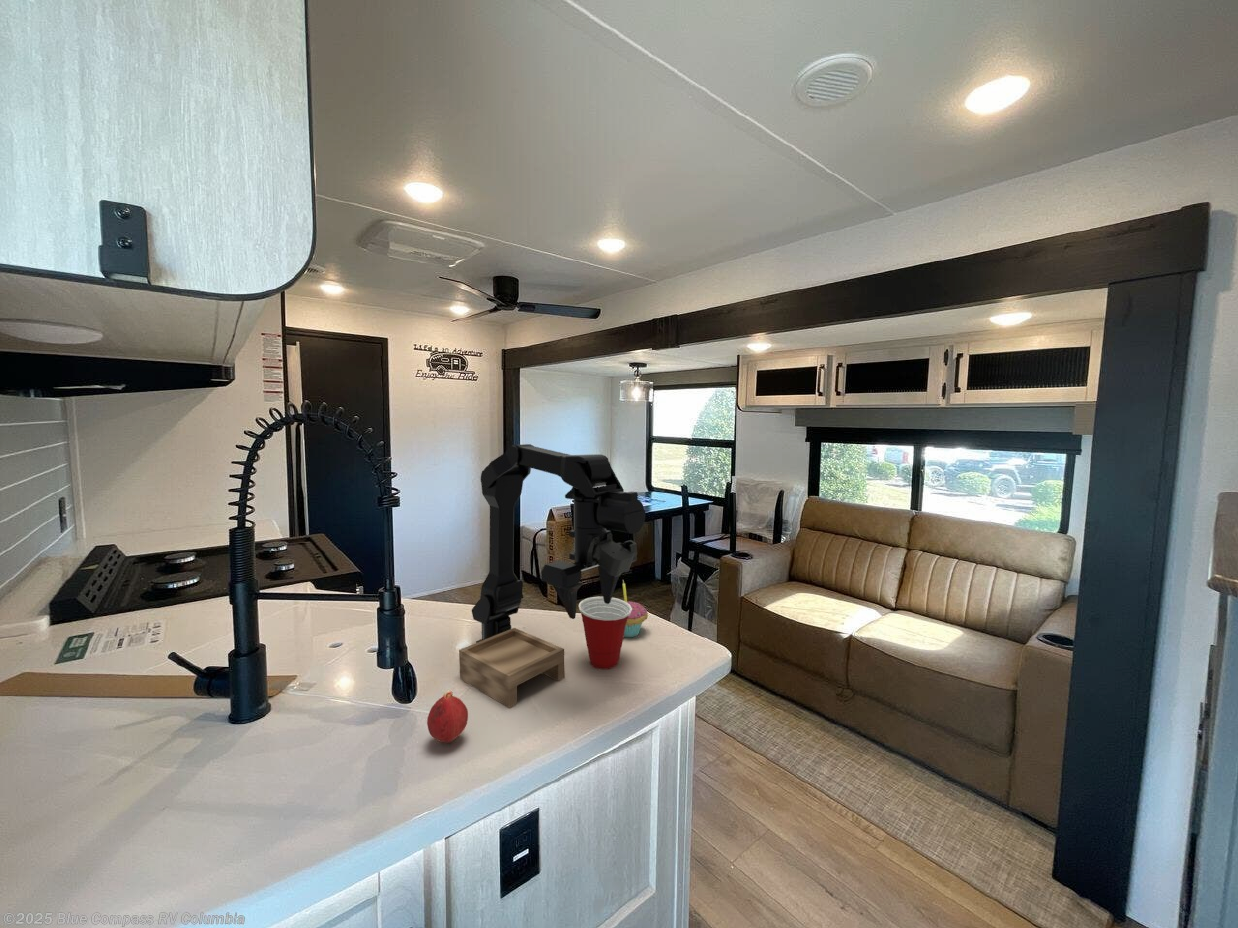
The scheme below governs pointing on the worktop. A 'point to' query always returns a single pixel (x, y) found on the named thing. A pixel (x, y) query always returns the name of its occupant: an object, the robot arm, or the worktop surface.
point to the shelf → (509, 663)
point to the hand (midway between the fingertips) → (590, 610)
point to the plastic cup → (604, 629)
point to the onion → (447, 718)
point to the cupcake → (634, 617)
